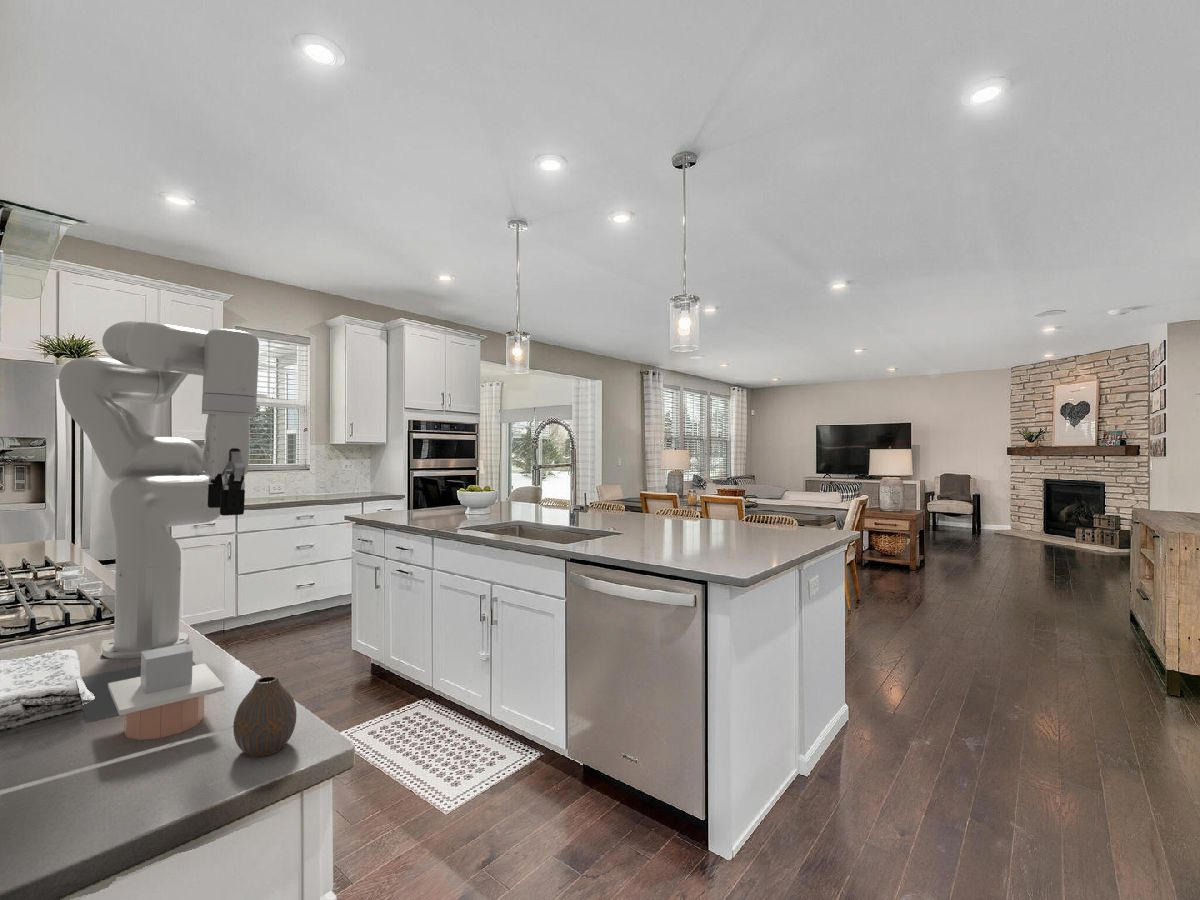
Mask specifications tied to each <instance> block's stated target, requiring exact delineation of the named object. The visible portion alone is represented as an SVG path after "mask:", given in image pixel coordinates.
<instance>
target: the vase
mask: <svg viewBox="0 0 1200 900" xmlns="http://www.w3.org/2000/svg"><path fill="white" fill-rule="evenodd" d="M297 713H298V712H297V706H296V701H295V700H294V697H293V696H292V694H291V693H290V692H289V691H288V689H286V688H285V687H284V686H283V684H281V682H280V680H279V678H278V677H277V676H276V675H266V676H262V677H259V678H258V679H256V680H255V682H254V684H253V686H252V688H251V689H250V690H249V691H248V693H247V694H246V695H245V697H244V698H243V699H242V701H241V702H240V703H239V705H238V707H237V709H236V711H235V715H234V720H233V726H232V728H233V736H234V737H233V738H234V740H235V743H236V745H237V746H238V747H237V748H239V749H240V750H241V752H243V753H244V754H246V755H248V756H250V757H265V756H269V755H271V753H272V754H275V753H277V752H278V751H280V750H281V749H282V748H283V747H284V746H285V745H286V744H287V743H288V742H289V740H290V739H291V738H292V735H293V734H294V730H295V727H296V724H297ZM276 751H277V752H276ZM274 752H275V753H274ZM268 754H269V755H268ZM264 755H265V756H264Z"/></svg>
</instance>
